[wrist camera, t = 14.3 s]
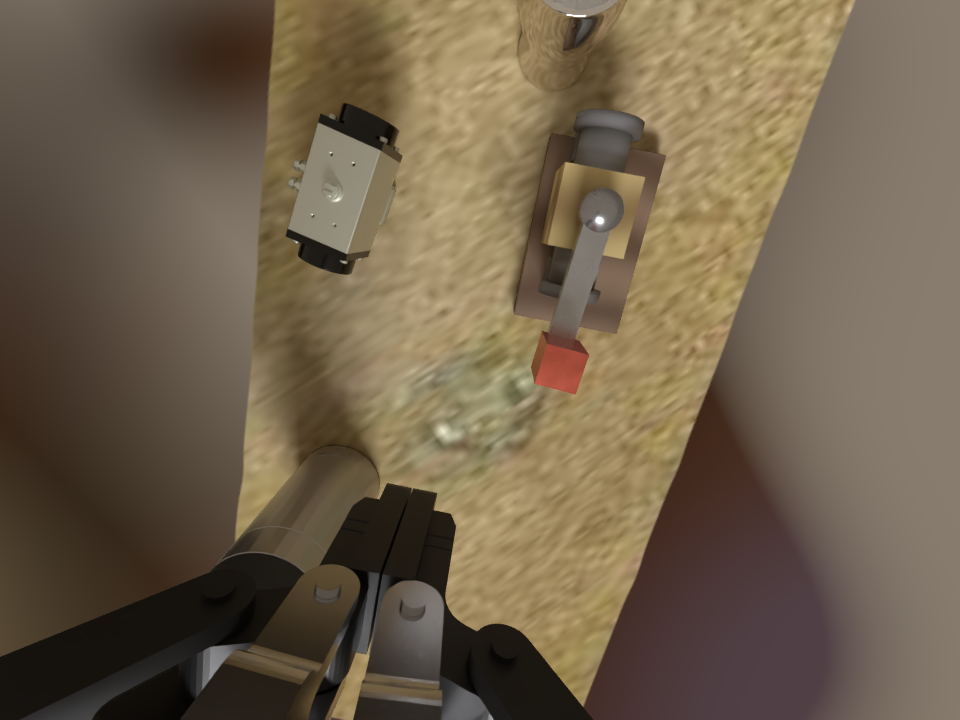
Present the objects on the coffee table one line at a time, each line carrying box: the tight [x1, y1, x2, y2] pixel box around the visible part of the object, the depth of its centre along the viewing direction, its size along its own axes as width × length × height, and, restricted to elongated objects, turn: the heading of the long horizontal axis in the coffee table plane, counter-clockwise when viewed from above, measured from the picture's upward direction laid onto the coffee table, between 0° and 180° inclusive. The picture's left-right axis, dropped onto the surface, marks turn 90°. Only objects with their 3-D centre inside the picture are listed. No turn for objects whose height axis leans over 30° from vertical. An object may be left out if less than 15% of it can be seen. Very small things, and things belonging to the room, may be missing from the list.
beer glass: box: [517, 0, 627, 91], centre depth 31 cm, size 7×7×15 cm
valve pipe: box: [514, 109, 666, 334], centre depth 38 cm, size 17×10×10 cm, turn 170°
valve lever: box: [531, 188, 624, 394], centre depth 32 cm, size 14×3×5 cm, turn 166°
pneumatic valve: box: [286, 103, 402, 275], centre depth 37 cm, size 6×12×12 cm, turn 157°
